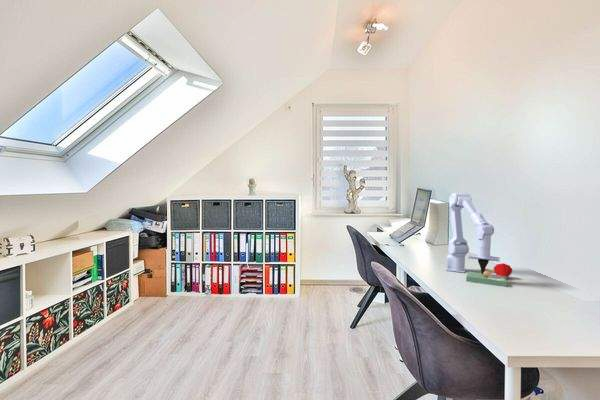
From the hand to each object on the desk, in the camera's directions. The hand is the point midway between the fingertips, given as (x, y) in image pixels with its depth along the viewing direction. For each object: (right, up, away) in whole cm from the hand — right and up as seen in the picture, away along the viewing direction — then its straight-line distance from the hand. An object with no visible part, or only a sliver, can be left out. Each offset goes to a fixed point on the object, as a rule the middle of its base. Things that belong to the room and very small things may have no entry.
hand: (483, 273), depth 187 cm
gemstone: (+14, -4, +6) cm, 15 cm away
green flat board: (+2, -4, 0) cm, 4 cm away
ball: (+2, +1, -1) cm, 2 cm away
